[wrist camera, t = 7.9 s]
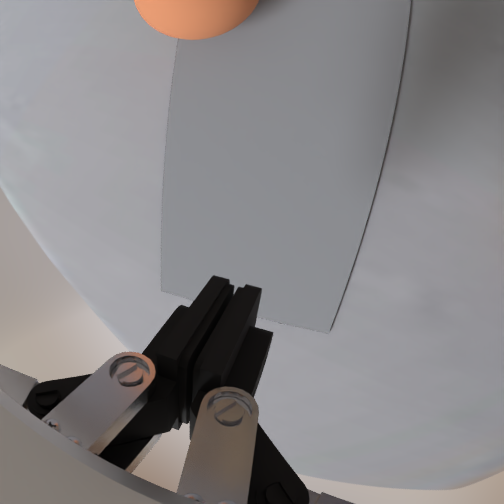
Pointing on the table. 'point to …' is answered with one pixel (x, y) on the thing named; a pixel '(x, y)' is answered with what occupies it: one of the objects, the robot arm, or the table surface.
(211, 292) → the robot arm
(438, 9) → the table surface
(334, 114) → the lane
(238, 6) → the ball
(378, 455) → the table surface
